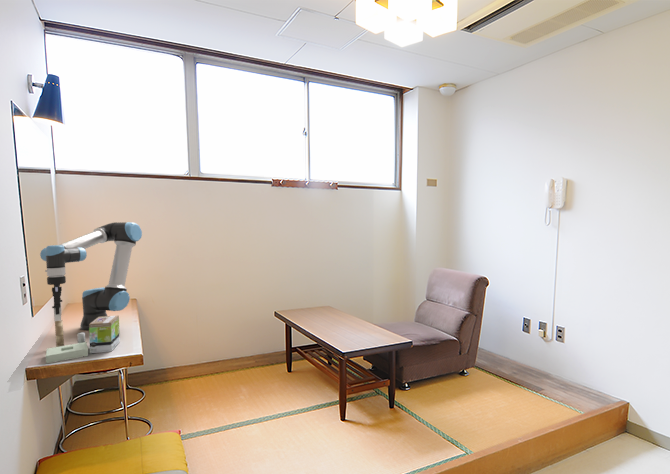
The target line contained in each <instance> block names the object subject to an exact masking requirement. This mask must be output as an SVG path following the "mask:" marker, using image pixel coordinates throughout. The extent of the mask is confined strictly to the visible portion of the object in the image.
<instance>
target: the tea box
mask: <svg viewBox="0 0 670 474" xmlns="http://www.w3.org/2000/svg"><path fill="white" fill-rule="evenodd" d="M88 331H89V332H88V333H89V337H88V338H89V340H88V342H89V354H99V353H100V354H101V353H109V352H112V351H113V350H114V349H115V347H117V345H119V344H120V340H121V339H120V315H107V316H103V317H98V318H96V319H95V320H94V321H93V322H91V323H90V324H89V330H88Z"/></svg>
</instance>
